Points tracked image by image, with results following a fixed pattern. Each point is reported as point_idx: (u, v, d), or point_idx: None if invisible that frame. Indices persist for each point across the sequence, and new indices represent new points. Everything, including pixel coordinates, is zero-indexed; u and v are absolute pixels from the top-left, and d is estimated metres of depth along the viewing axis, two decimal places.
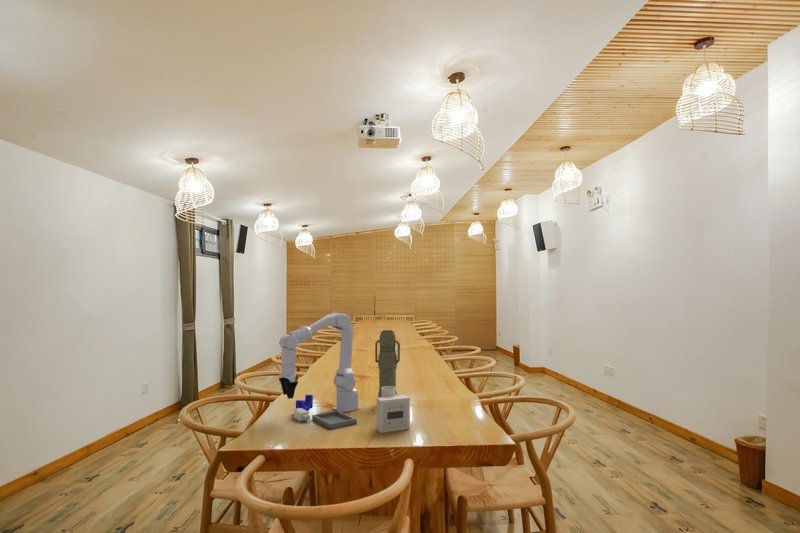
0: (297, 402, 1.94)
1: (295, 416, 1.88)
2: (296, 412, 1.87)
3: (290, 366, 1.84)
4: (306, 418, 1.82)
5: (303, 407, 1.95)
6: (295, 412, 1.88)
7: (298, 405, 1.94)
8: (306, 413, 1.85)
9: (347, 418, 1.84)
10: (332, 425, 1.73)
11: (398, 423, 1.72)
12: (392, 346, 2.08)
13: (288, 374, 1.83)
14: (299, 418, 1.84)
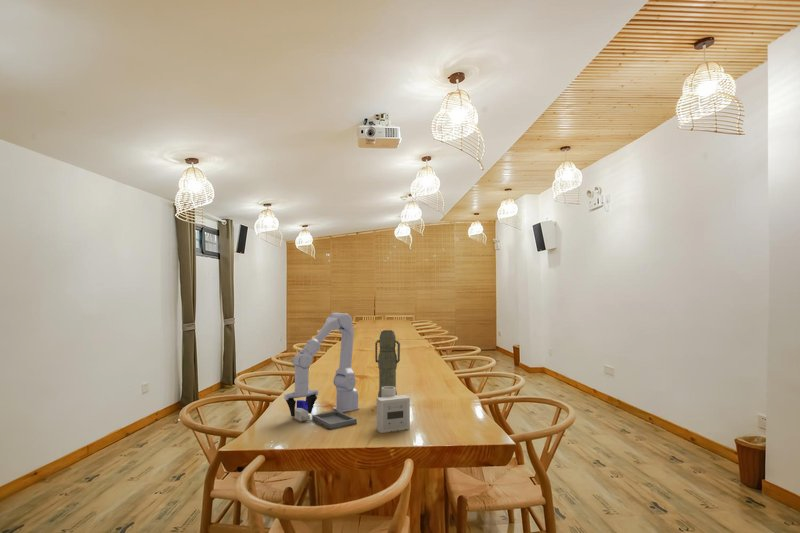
0: (298, 402, 1.94)
1: (295, 416, 1.88)
2: (296, 412, 1.87)
3: (295, 384, 1.86)
4: (306, 418, 1.82)
5: (304, 407, 1.95)
6: (295, 412, 1.88)
7: (299, 405, 1.94)
8: (306, 413, 1.85)
9: (347, 418, 1.84)
10: (332, 425, 1.73)
11: (398, 423, 1.72)
12: (392, 346, 2.08)
13: (294, 392, 1.86)
14: (299, 418, 1.84)
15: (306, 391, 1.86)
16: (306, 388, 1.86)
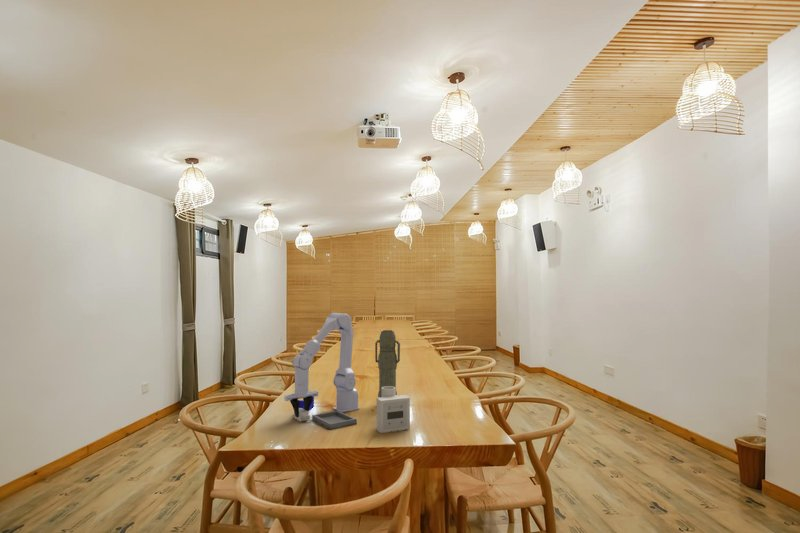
0: None
1: (295, 416, 1.88)
2: None
3: (295, 385, 1.86)
4: (306, 418, 1.82)
5: None
6: None
7: (300, 405, 1.94)
8: (306, 413, 1.85)
9: (347, 418, 1.84)
10: (332, 425, 1.73)
11: (398, 423, 1.72)
12: (392, 346, 2.08)
13: (294, 393, 1.86)
14: (299, 418, 1.84)
15: (306, 392, 1.86)
16: (306, 389, 1.86)
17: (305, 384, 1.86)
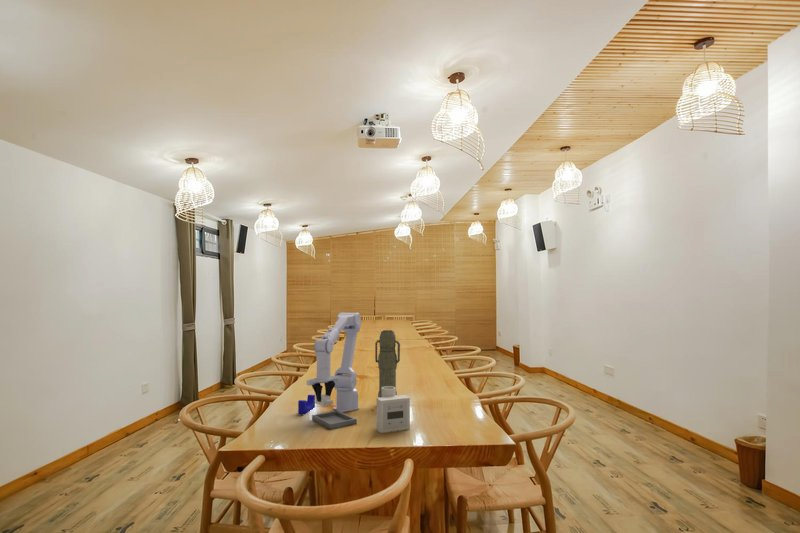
0: (300, 402, 1.94)
1: (317, 401, 1.85)
2: None
3: (317, 370, 1.83)
4: (329, 403, 1.80)
5: (306, 407, 1.95)
6: None
7: (301, 405, 1.94)
8: (328, 398, 1.83)
9: (347, 418, 1.84)
10: (332, 425, 1.73)
11: (398, 423, 1.72)
12: (392, 346, 2.08)
13: None
14: (321, 403, 1.82)
15: (328, 377, 1.84)
16: (328, 374, 1.84)
17: (327, 368, 1.83)
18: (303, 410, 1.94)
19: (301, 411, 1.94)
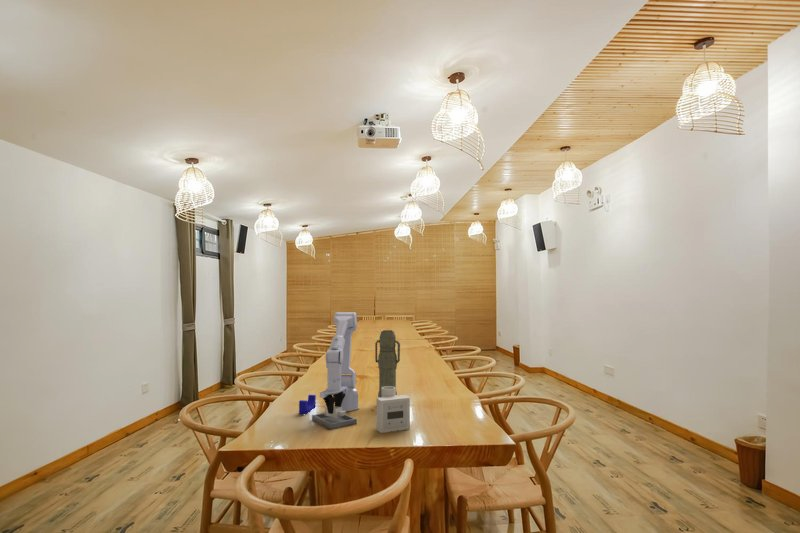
0: (300, 402, 1.94)
1: (327, 413, 1.83)
2: None
3: (329, 381, 1.81)
4: (343, 414, 1.80)
5: (306, 407, 1.95)
6: (327, 409, 1.83)
7: (302, 405, 1.94)
8: (340, 409, 1.82)
9: (347, 418, 1.84)
10: (332, 425, 1.73)
11: (398, 423, 1.72)
12: (392, 346, 2.08)
13: (328, 389, 1.82)
14: (334, 415, 1.80)
15: (340, 388, 1.83)
16: (340, 385, 1.83)
17: (339, 379, 1.82)
18: (304, 410, 1.94)
19: (302, 411, 1.94)
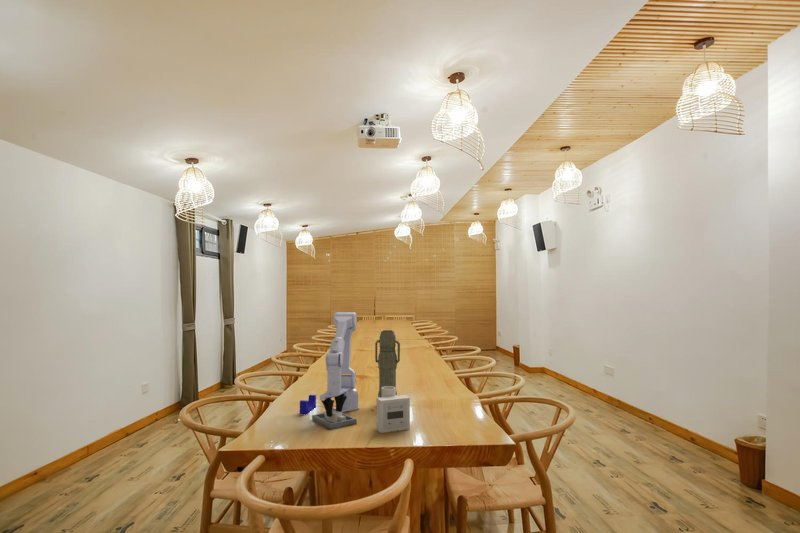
0: (301, 402, 1.94)
1: (327, 418, 1.83)
2: None
3: (329, 384, 1.81)
4: (343, 419, 1.79)
5: (307, 407, 1.95)
6: None
7: (302, 405, 1.94)
8: (341, 414, 1.82)
9: (347, 418, 1.84)
10: (332, 425, 1.73)
11: (398, 423, 1.72)
12: (392, 346, 2.08)
13: (328, 392, 1.82)
14: (334, 420, 1.80)
15: (340, 390, 1.83)
16: (340, 387, 1.83)
17: (339, 382, 1.82)
18: (305, 410, 1.94)
19: (303, 411, 1.94)
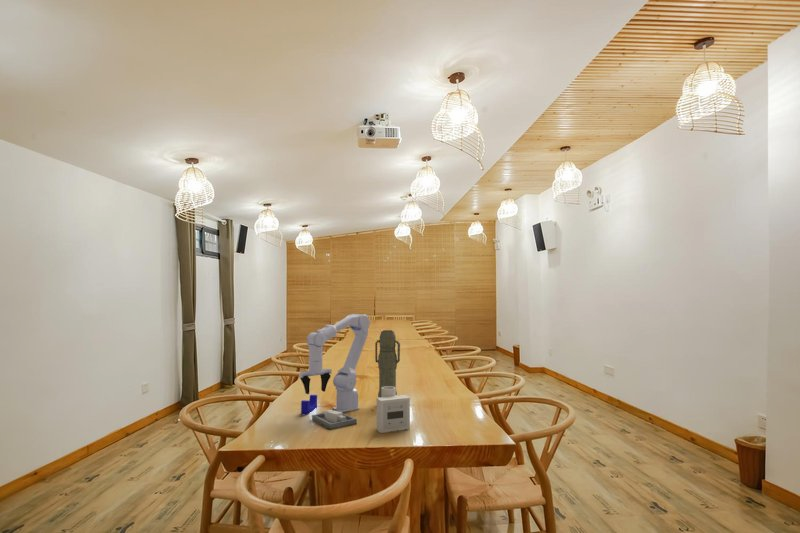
0: (303, 402, 1.94)
1: (327, 418, 1.83)
2: (329, 414, 1.82)
3: (309, 362, 1.90)
4: (343, 419, 1.79)
5: (308, 407, 1.95)
6: (327, 414, 1.83)
7: (304, 405, 1.94)
8: (341, 414, 1.82)
9: (347, 418, 1.84)
10: (332, 425, 1.73)
11: (398, 423, 1.72)
12: (392, 346, 2.08)
13: (309, 370, 1.90)
14: (334, 420, 1.80)
15: (320, 369, 1.90)
16: (320, 366, 1.90)
17: (319, 361, 1.89)
18: (306, 410, 1.94)
19: (304, 411, 1.94)
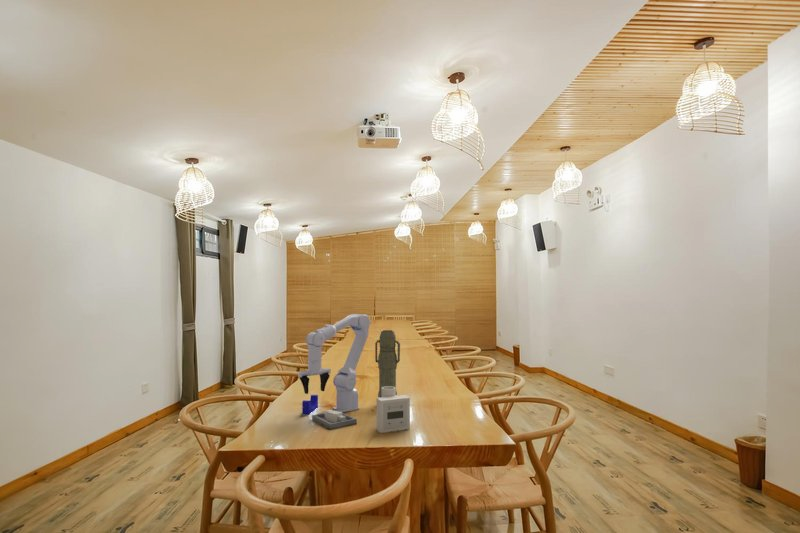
0: (304, 402, 1.94)
1: (327, 418, 1.83)
2: (329, 414, 1.82)
3: (308, 362, 1.90)
4: (343, 419, 1.79)
5: (310, 407, 1.95)
6: (327, 414, 1.83)
7: (305, 405, 1.94)
8: (341, 414, 1.82)
9: (347, 418, 1.84)
10: (332, 425, 1.73)
11: (398, 423, 1.72)
12: (392, 346, 2.08)
13: (308, 370, 1.90)
14: (334, 420, 1.80)
15: (319, 369, 1.90)
16: (319, 366, 1.90)
17: (318, 361, 1.90)
18: (307, 410, 1.94)
19: (306, 411, 1.94)
